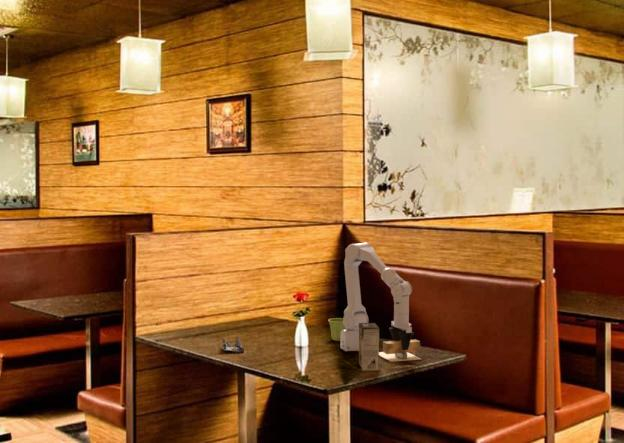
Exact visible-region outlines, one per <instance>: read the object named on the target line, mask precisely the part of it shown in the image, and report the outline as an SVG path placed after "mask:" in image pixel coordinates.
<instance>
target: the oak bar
mask: <svg viewBox="0 0 624 443" xmlns="http://www.w3.org/2000/svg"><path fill="white" fill-rule="evenodd" d="M382 352H384V353H386V354H396V353H420V352H421V341H420V340H418V339H416V338H415V339H411V341H410V344H409V348H408V350H402V343H401V341H393V340H389V341H382Z"/></svg>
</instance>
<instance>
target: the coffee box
mask: <svg viewBox="0 0 624 443" xmlns="http://www.w3.org/2000/svg"><path fill="white" fill-rule="evenodd" d="M379 352H380V327H379V326H378V325H377V324H376V323H375V322H368V323H359V351H358V364H359V366H360V367H361V370H362V371H366V372H367V371H379V364H380V363H379V361H380V359H379V358H380V355H379Z"/></svg>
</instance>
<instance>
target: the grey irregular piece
mask: <svg viewBox="0 0 624 443" xmlns="http://www.w3.org/2000/svg"><path fill="white" fill-rule="evenodd" d="M222 343H223V345H222V351H223V353H224V352H232V354H243V353H244V352H245V349H244V348H243V347H242V346H243V343H242V341H241V339H240V337H239V336H237V337H235V344H234V345H233V344H230V343H229V342H228V341H227V340H226V339H225V338H224V337H222ZM233 349H234V350H233Z"/></svg>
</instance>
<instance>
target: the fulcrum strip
mask: <svg viewBox="0 0 624 443" xmlns="http://www.w3.org/2000/svg"><path fill="white" fill-rule="evenodd" d="M395 356H396V357H398V358H400V359H402V360H404V359H407V353H396V354H395Z"/></svg>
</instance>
